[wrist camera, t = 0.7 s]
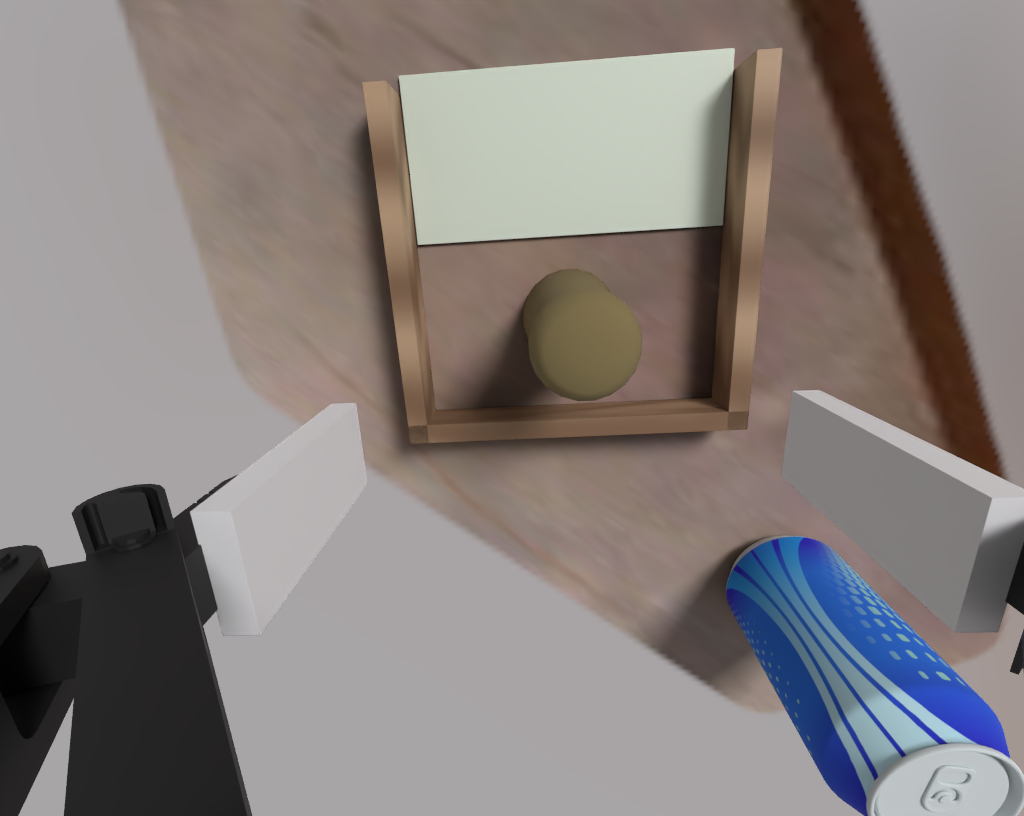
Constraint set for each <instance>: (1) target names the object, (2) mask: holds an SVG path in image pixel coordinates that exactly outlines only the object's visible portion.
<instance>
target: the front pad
mask: <svg viewBox="0 0 1024 816" xmlns="http://www.w3.org/2000/svg"><path fill="white" fill-rule="evenodd" d="M734 52H735V48H728V49H716V50H704V51H692V52H680V53H668V54H656V55H644V56H632V57H620V58H608V59H596V60H583V61H571V62H559V63H547V64H535V65H523V66H511V67H499V68H487V69H475V70H463V71H451V72H438V73H426V74H414V75H402V76H399V82H400V91H401V100H402V109H403V118H404V127H405V136H406V144H407V153H408V162H409V171H410V180H411V189H412V198H413V206H414V215H415V224H416V233H417V242H418V245H425V244H441V243H456V242H472V241H488V240H503V239H519V238H534V237H550V236H566V235H581V234H597V233H612V232H628V231H643V230H659V229H675V228H690V227H706V226H721V225H723V215H724V200H725V185H726V170H727V155H728V141H729V126H730V111H731V96H732V81H733V66H734Z"/></svg>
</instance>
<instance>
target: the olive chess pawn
mask: <svg viewBox="0 0 1024 816" xmlns="http://www.w3.org/2000/svg"><path fill="white" fill-rule="evenodd" d="M523 328H524V330H525V333H526V336H527V338H528V341H529V358H530V361H531V363H532V366H533V369H534V371H535V374H536V375H537V376H538V377H539V379H540V380H541V381H542V382H543V384H544V385H545V386H546V387H547V388H549V389H551V390H552V391H554V392H555V393H557V394H558V395H560V396H562V397H565V398H569V399H573V400H576V401H590V400H597V399H600V398H603V397H606V396H609V395H611V394H613V393H614V392H615V391H617V390H618V389H620V388H621V387H622V386H624V385H625V384H626V382H627V381H628V380H629V379H630V377H631V376H632V375H633V373H634V372H635V370H636V367H637V365H638V362H639V359H640V356H641V349H642V333H641V330H640V327H639V324H638V320H637V318H636V316H635V315H634V313H633V312H632V311H631V309H630V308H629V307H628V305H627V304H626V303H625V302H623V301H622V300H620V299H619V298H618V297H616V296H615V295H613V294H612V293H611V292H610V290H609V289H608V288H607V286H606V285H605V283H604V282H603V281H601V280H600V279H598V278H597V277H596V276H594V275H593V274H591V273H588V272H585V271H581V270H578V269H570V270H560V271H557V272H555V273H552V274H550V275H547V276H546V277H544V278H543V279H542V280H541V281H540V282H538V283H537V284H536V285H535V286H534V288H533V289H532V291H531V292H530V294H529V295H528V297H527V299H526V302H525V306H524V310H523Z"/></svg>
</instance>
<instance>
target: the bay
mask: <svg viewBox="0 0 1024 816" xmlns="http://www.w3.org/2000/svg"><path fill="white" fill-rule="evenodd" d="M782 49H783V48H775V49H763V50H757V51H756V52H755V53H753V54H752V55H751V56H750V57H749V58H748V59H747V60H745V61H744V62H743V63H742V64H741V65H740V66H738V67H737V68H736V69H735V70H734V74H733V89H732V104H731V118H730V133H729V148H728V163H727V177H726V192H725V207H724V222H723V237H722V251H721V266H720V281H719V296H718V310H717V325H716V340H715V355H714V370H713V384H712V398H691V399H670V400H648V401H626V402H605V403H583V404H561V405H539V406H518V407H496V408H474V409H453V410H436V408H435V399H434V391H433V382H432V373H431V364H430V355H429V347H428V338H427V329H426V320H425V311H424V303H423V294H422V285H421V276H420V267H419V259H418V250H417V241H416V232H415V223H414V215H413V206H412V197H411V188H410V179H409V170H408V162H407V153H406V144H405V135H404V126H403V118H402V109H401V100H400V97H399V95H398V94H397V93H396V92H395V91H394V90H393V89H392V87H391V86H390V85H389V84H388V83H387V82H386V81H374V82H362V83H363V90H364V98H365V105H366V113H367V120H368V128H369V135H370V143H371V150H372V158H373V165H374V173H375V180H376V188H377V195H378V203H379V211H380V218H381V226H382V233H383V241H384V248H385V256H386V263H387V271H388V278H389V286H390V293H391V301H392V308H393V316H394V323H395V331H396V338H397V346H398V353H399V361H400V368H401V376H402V383H403V391H404V398H405V406H406V413H407V421H408V428H409V436H410V443H411V444H417V443H440V442H464V441H488V440H511V439H535V438H558V437H582V436H605V435H629V434H652V433H676V432H699V431H723V430H746V429H747V426H748V415H749V404H750V394H751V383H752V372H753V361H754V350H755V340H756V329H757V318H758V307H759V297H760V286H761V275H762V264H763V253H764V243H765V232H766V221H767V210H768V200H769V189H770V178H771V167H772V156H773V146H774V135H775V124H776V113H777V103H778V92H779V81H780V70H781V60H782Z"/></svg>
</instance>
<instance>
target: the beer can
mask: <svg viewBox="0 0 1024 816" xmlns="http://www.w3.org/2000/svg"><path fill="white" fill-rule="evenodd" d="M726 596H727V601H728V605H729V607H730V609H731V611H732V613H733V615H734V616H735V618H736V620H737V622H738V624H739V626H740V627H741V629H742V631H743V633H744V635H745V636H746V638H747V640H748V642H749V644H750V646H751V647H752V649H753V651H754V653H755V655H756V656H757V658H758V660H759V662H760V664H761V666H762V667H763V669H764V671H765V673H766V675H767V676H768V678H769V680H770V682H771V684H772V686H773V687H774V689H775V691H776V693H777V695H778V696H779V698H780V700H781V702H782V704H783V706H784V707H785V709H786V711H787V713H788V715H789V716H790V718H791V720H792V722H793V724H794V725H795V727H796V729H797V731H798V733H799V735H800V736H801V738H802V740H803V742H804V744H805V746H806V747H807V749H808V751H809V753H810V755H811V756H812V758H813V760H814V762H815V764H816V765H817V767H818V769H819V771H820V773H821V775H822V776H823V778H824V780H825V781H826V783H827V784H828V786H829V787H830V788H831V790H832V791H833V792H834V793H835V794H836V795H837V796H838V797H840V798H841V799H842V800H843V801H844V802H846V803H847V804H849V805H850V806H852V807H853V808H854V809H856V810H857V811H859V812H860V813H861V814H863V815H864V816H1018V814H1019V813H1020V811H1021V809H1022V807H1023V805H1024V775H1023V773H1022V772H1021V770H1020V769H1019V767H1018V766H1017V765H1016V764H1015V763H1014V762H1013V761H1012V760H1011V759H1010V755H1009V751H1008V748H1007V744H1006V740H1005V736H1004V732H1003V729H1002V726H1001V724H1000V722H999V720H998V718H997V716H996V715H995V713H994V712H993V711H992V710H991V708H990V707H989V706H988V705H987V704H986V703H985V702H984V701H983V700H982V699H981V698H980V696H978V694H977V693H976V692H975V691H974V690H973V689H972V688H971V687H969V686H968V684H966V682H964V680H963V679H962V678H960V677H959V676H958V675H957V673H956V672H954V670H953V669H952V668H951V667H950V666H949V665H948V664H947V663H946V662H945V661H944V660H943V659H942V658H941V657H940V656H939V655H938V654H937V653H936V652H935V651H934V650H933V649H932V648H931V647H930V646H929V645H928V644H927V643H926V642H925V641H924V640H923V639H922V638H921V637H920V636H919V635H918V634H917V633H916V632H915V631H914V630H913V629H912V628H911V627H910V626H909V625H908V624H907V623H906V622H905V621H904V620H903V619H902V618H901V617H900V616H899V615H898V614H897V613H896V612H895V611H894V610H893V609H892V608H891V607H890V606H889V605H888V604H887V603H886V602H885V601H884V600H883V599H882V598H881V597H880V596H879V595H878V594H877V593H876V592H875V591H874V590H873V589H872V588H871V587H870V586H869V585H868V584H867V583H866V582H865V581H864V580H863V579H862V578H861V577H860V576H859V575H858V574H857V573H856V572H855V571H854V570H853V569H852V568H851V567H850V566H849V565H848V564H847V563H846V562H845V561H844V560H843V559H842V558H841V557H840V556H839V555H838V554H837V553H836V552H835V551H834V550H833V549H832V548H830V547H829V546H828V545H826V544H824V543H822V542H820V541H818V540H815V539H812V538H808V537H802V536H787V535H780V536H773V537H768V538H765V539H762V540H760V541H757V542H756V543H754V544H752V545H751V546H749V547H748V548H746V549H745V550H744V551H743V552H742V553H741V554H740V555H739V557H738V558H737V559H736V561H735V563H734V565H733V567H732V570H731V573H730V575H729V578H728V581H727V586H726Z"/></svg>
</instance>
